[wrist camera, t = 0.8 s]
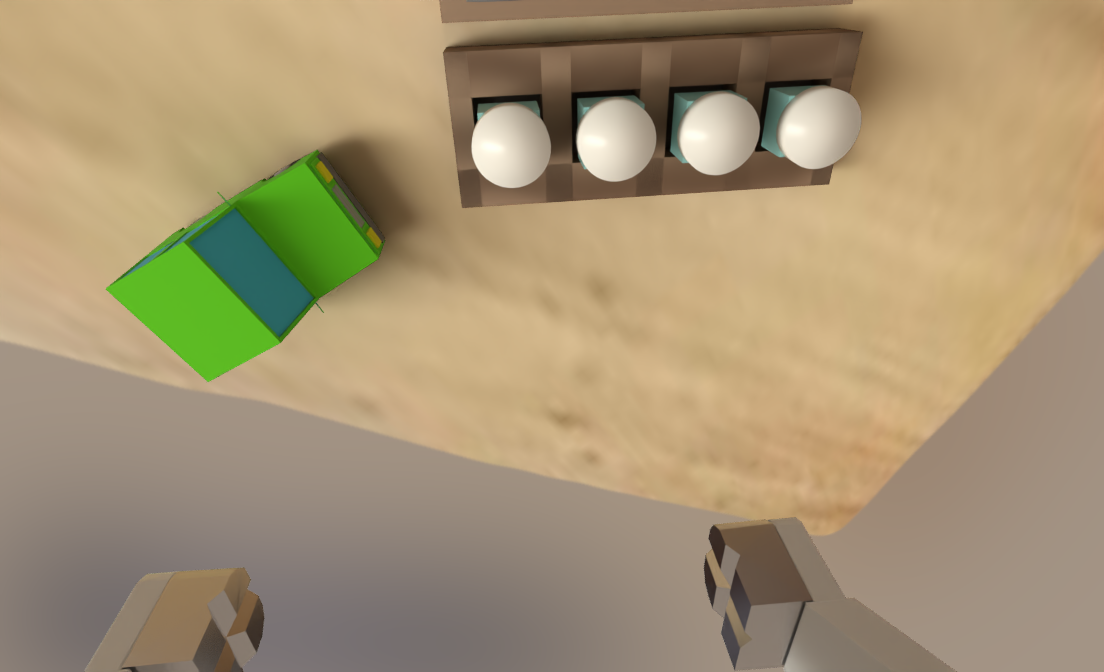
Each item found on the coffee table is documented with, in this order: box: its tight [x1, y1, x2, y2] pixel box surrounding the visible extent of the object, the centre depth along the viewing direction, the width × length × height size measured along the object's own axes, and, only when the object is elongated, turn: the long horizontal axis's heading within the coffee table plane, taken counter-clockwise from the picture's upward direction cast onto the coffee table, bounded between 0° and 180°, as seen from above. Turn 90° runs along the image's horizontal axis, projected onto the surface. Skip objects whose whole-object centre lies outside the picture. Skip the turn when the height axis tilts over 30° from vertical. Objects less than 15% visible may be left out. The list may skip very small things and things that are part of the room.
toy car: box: [106, 150, 385, 382], centre depth 40 cm, size 10×13×10 cm
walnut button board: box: [443, 28, 863, 208], centre depth 41 cm, size 10×27×3 cm, turn 92°
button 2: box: [576, 95, 656, 182], centre depth 37 cm, size 5×5×4 cm
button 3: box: [670, 90, 760, 175], centre depth 38 cm, size 5×5×4 cm
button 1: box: [472, 101, 551, 188], centre depth 37 cm, size 5×5×4 cm
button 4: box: [761, 85, 862, 169], centre depth 38 cm, size 5×5×4 cm
